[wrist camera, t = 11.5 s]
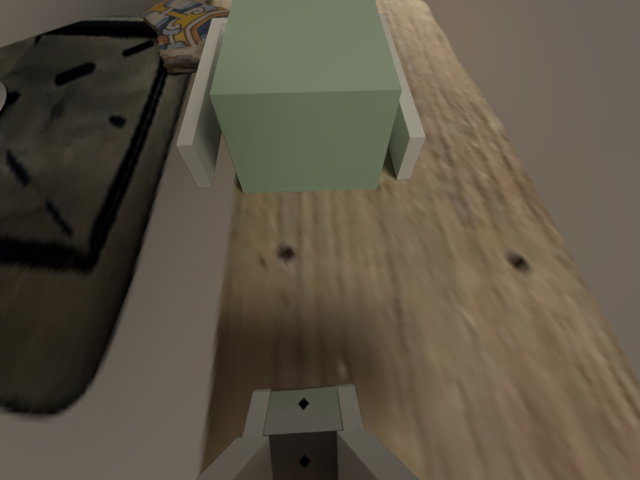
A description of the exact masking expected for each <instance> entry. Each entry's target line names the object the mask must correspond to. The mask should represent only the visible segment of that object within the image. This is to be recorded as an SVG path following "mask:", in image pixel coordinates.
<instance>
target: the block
mask: <svg viewBox="0 0 640 480" xmlns="http://www.w3.org/2000/svg"><path fill="white" fill-rule="evenodd" d="M401 92H402V88H401V85H400V81H399V78H398V75H397V71H396V68H395V65H394V62H393V58H392V55H391V52H390V49H389V45H388V42H387V39H386V36H385V32H384V29H383V26H382V22H381V19H380V16H379V13H378V9H377V6H376V3H375V0H233V1H232V5H231V9H230V13H229V17H228V21H227V25H226V29H225V33H224V37H223V41H222V45H221V50H220V54H219V58H218V62H217V66H216V70H215V74H214V78H213V82H212V86H211V90H210V94H209V95H210V98H211V101H212V104H213V107H214V110H215V112H216V115H217V118H218V121H219V124H220V127H221V130H222V132H223V136H224V138H225V141H226V144H227V147H228V150H229V153H230V156H231V159H232V162H233V164H234V167H235V170H236V173H237V176H238V179H239V182H240V185H241V188H242V190H243V193H265V192H296V191H326V190H356V189H377V188H378V184H379V180H380V176H381V172H382V168H383V164H384V160H385V156H386V152H387V148H388V144H389V140H390V136H391V132H392V128H393V124H394V120H395V116H396V112H397V108H398V104H399V100H400V96H401Z"/></svg>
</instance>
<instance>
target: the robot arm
mask: <svg viewBox="0 0 640 480" xmlns="http://www.w3.org/2000/svg"><path fill="white" fill-rule="evenodd" d="M6 95H7V94H6V88H5V86H4V84H3V83H2V82H1V81H0V111H1V109H2V107H3V105H4V103H5V100H6ZM196 480H419V479H418V478H417V477H416V476H415V475H414V474H413V473H412V472H411V471H410V470H409V469H408V468H407V467H406V466H405V465H404V464H403V463H402V462H401V461H400V460H399V459H398V458H397V457H396V456H395V455H394V454H393V453H392V452H391V451H390V450H389V449H388V448H387V447H386V446H385V445H384V444H383V443H382V442H381V441H380V440H379V439H378V438H377V437H376V436H375V435H374V434H373V433H372V432H371V431H370V430H364V429H363V424H362V419H361V415H360V410H359V405H358V401H357V396H356V391H355V386H354V385H353V384H344V385H337V386H320V387H305V388H275V389H255V390H254V392H253V393H252V397H251V401H250V405H249V410H248V414H247V418H246V422H245V426H244V430H243V434H242V437H240V438H236V439H235V440H234V441H233V442H232V443H231V444H230V445H229V446H228V447H227V448H226V449H225V450H224V451H223V452H222V453H221V454H220V455H219V456H218V457H217V458H216V460H215V461H214V462H213V463H212V464H211V465H210V466H209V467H208V468H207V469H206V470H205V471H204V472H203V473H202V474H201V475H200V476H199V477H198V478H197V479H196Z"/></svg>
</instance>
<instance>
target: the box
mask: <svg viewBox="0 0 640 480" xmlns="http://www.w3.org/2000/svg"><path fill="white" fill-rule="evenodd" d="M379 16H380V19H381V22H382V26H383V29H384V32H385V36H386V39H387V42H388V45H389V49H390V52H391V55H392V58H393V62H394V65H395V68H396V71H397V75H398V78H399V81H400V85H401V88H402V92H401V96H400V100H399V104H398V108H397V112H396V116H395V120H394V124H393V128H392V132H391V136H390V140H389V144H388V146H389V151H390V155H391V159H392V163H393V167H394V171H395V175H396V180H405V179H410V177H411V174H412V171H413V169H414V166H415V164H416V161H417V158H418V156H419V153H420V150H421V148H422V145H423V142H424V140H425V134H424V131H423V128H422V125H421V122H420V119H419V116H418V113H417V110H416V107H415V105H414V102H413V99H412V96H411V93H410V90H409V87H408V84H407V81H406V78H405V75H404V72H403V69H402V66H401V63H400V61H399V58H398V55H397V52H396V49H395V46H394V43H393V40H392V37H391V34H390V31H389V28H388V25H387V22H386V19H385V17H384V14H379ZM227 21H228V18H212V21H211V24H210V28H209V31H208V35H207V38H206V42H205V45H204V49H203V52H202V56H201V59H200V63H199V66H198V70H197V73H196V77H195V80H194V84H193V88H192V91H191V95H190V98H189V102H188V105H187V109H186V112H185V116H184V119H183V123H182V126H181V130H180V133H179V137H178V140H177V144H176V147H177V149H178V150H179V152H180V154H181V156H182V158H183V160H184V161H185V164H186V166H187V167H188V169H189V171H190V173H191V175H192V177H193V178H194V180H195V182H196V184H197V186H198V188H199V187H212V183H213V177H214V171H215V166H216V160H217V154H218V149H219V143H220V138H221V132H222V130H221V127H220V124H219V121H218V118H217V115H216V112H215V110H214V107H213V104H212V101H211V98H210V95H209V94H210V90H211V86H212V82H213V78H214V74H215V70H216V66H217V62H218V58H219V54H220V50H221V45H222V41H223V37H224V33H225V29H226V25H227Z"/></svg>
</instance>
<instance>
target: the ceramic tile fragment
mask: <svg viewBox="0 0 640 480" xmlns="http://www.w3.org/2000/svg"><path fill="white" fill-rule="evenodd" d="M229 13H230V10H227V9H224V8H222V7H216V6H210V5H204V4H201V3H192V2H190V1H186V0H166V1H163V2H161V3H159V4H156V5H155V6H154V7H152V8H151V10H149V11H147V12H144V13H142V14H141V15H142V17H143V20H144V21H145V22H146V23H147V24H148V25H149V26H151V28H153V29H154V30H155V32H156V33H157V34H158V38H157V40H158V42H159V43H158V49H157V50H158V51H159V52H160V54H159V55H160V56H161V57H162V59H163V61H164V64H163V66H164V67H166V68H167V73H173V74H176V73H190V72H192V73H197V70H198V66H199V63H200V59H201V56H202V52H203V49H204V45H205V42H206V38H207V35H208V31H209V28H210V24H211V21H212V18H228V17H229Z"/></svg>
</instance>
